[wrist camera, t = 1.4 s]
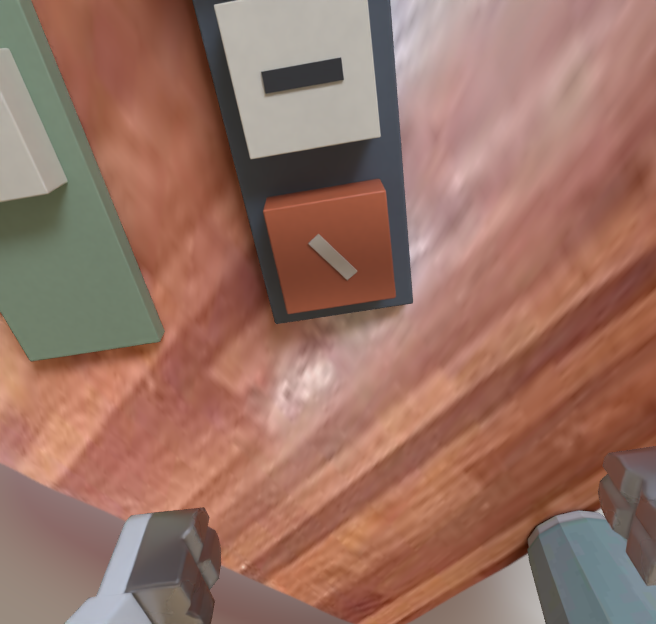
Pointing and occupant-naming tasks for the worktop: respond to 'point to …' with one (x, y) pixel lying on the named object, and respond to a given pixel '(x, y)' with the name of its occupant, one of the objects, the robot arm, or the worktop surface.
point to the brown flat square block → (332, 245)
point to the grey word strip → (319, 162)
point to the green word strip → (58, 214)
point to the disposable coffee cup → (587, 573)
